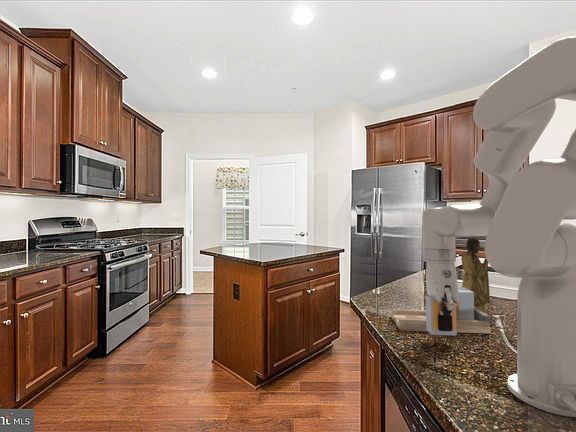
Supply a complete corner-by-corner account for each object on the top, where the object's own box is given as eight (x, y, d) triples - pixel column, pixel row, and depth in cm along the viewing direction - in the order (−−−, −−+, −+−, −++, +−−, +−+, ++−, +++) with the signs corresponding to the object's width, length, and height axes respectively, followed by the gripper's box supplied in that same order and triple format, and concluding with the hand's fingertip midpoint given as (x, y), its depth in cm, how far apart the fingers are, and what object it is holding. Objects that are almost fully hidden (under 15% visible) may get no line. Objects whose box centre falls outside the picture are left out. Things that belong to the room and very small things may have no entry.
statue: (493, 318, 100) (493, 238, 100) (460, 313, 105) (460, 237, 105) (493, 311, 108) (493, 236, 108) (462, 307, 113) (462, 235, 113)
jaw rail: (490, 333, 88) (490, 295, 88) (400, 330, 91) (400, 293, 91) (470, 319, 100) (470, 285, 100) (391, 316, 103) (391, 284, 103)
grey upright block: (432, 335, 80) (431, 299, 80) (426, 329, 85) (425, 295, 85) (457, 336, 79) (456, 299, 80) (450, 330, 84) (449, 295, 84)
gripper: (469, 259, 74) (472, 339, 73) (442, 252, 90) (444, 317, 90) (435, 259, 75) (437, 338, 74) (414, 252, 91) (416, 317, 91)
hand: (441, 326), depth 82 cm, fingers closed on grey upright block, 4 cm apart
